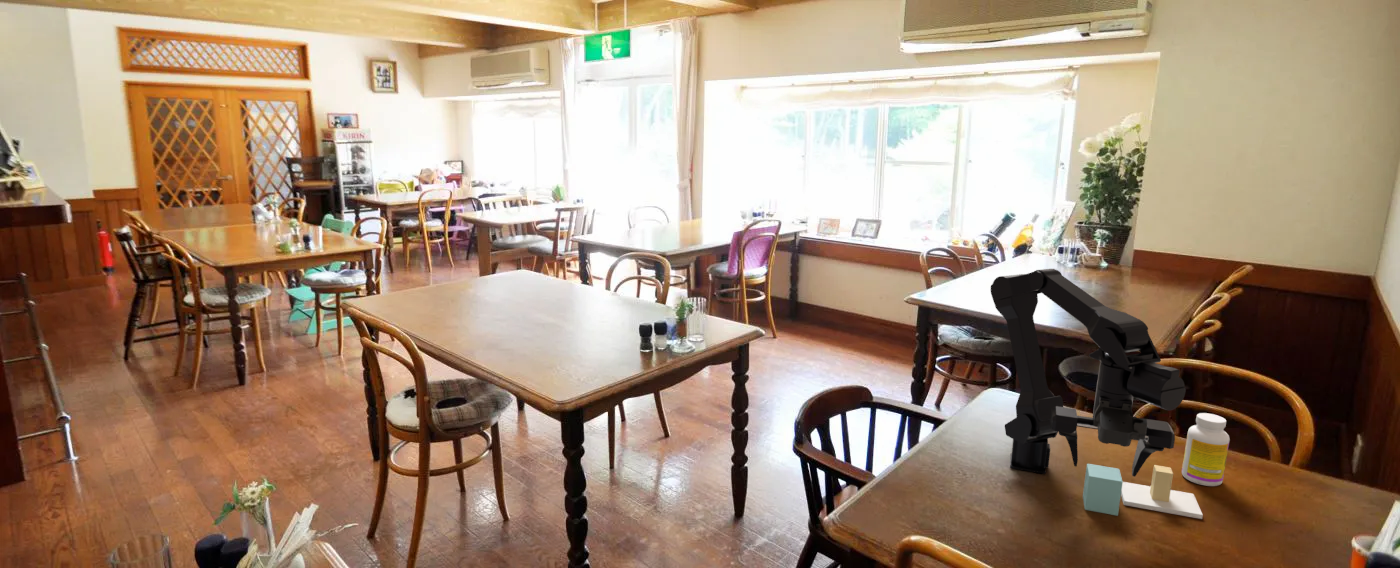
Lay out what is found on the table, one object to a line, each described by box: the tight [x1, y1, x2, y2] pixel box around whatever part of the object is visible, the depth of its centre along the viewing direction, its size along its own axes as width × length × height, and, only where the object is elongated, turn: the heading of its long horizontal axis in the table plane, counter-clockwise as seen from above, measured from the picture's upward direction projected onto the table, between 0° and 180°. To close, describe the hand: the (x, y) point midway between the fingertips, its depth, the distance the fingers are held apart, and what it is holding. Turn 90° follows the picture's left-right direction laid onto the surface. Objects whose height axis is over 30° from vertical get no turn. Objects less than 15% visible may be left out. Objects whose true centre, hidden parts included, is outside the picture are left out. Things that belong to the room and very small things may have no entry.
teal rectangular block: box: [1082, 463, 1124, 517], centre depth 130 cm, size 5×5×7 cm
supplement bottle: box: [1181, 412, 1231, 487], centre depth 139 cm, size 7×7×13 cm
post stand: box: [1121, 464, 1204, 520], centre depth 131 cm, size 12×8×6 cm, turn 66°
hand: (1103, 470), depth 129 cm, fingers open, 9 cm apart
